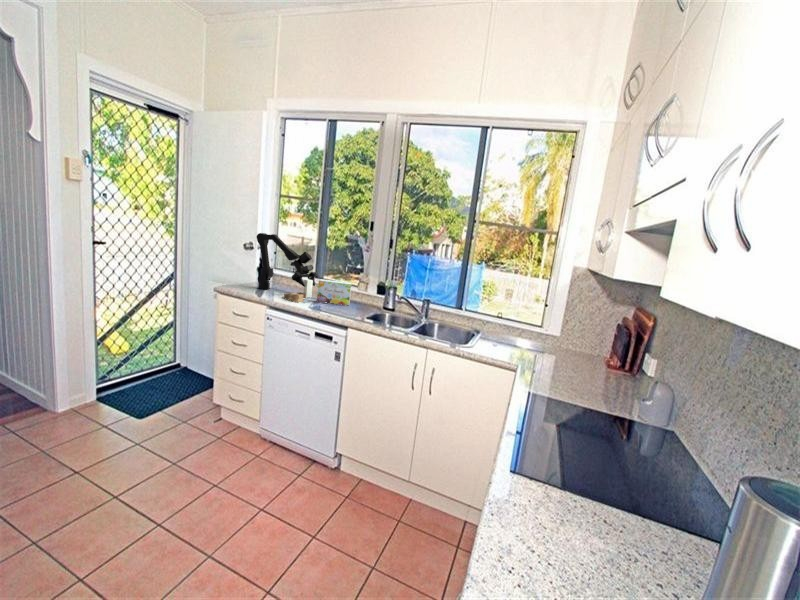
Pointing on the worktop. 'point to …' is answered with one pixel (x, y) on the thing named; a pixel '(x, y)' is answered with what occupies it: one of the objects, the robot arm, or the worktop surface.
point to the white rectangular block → (308, 288)
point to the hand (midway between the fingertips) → (309, 286)
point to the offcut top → (296, 296)
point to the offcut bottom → (296, 300)
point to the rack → (291, 293)
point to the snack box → (334, 292)
